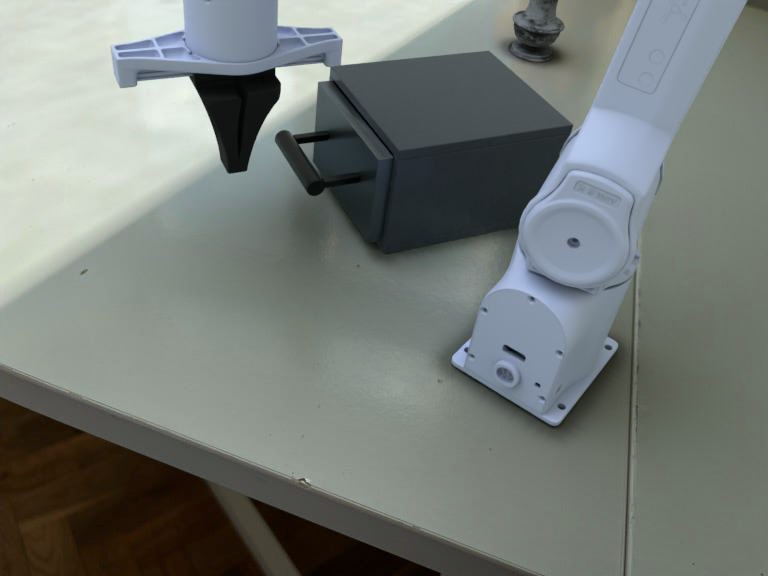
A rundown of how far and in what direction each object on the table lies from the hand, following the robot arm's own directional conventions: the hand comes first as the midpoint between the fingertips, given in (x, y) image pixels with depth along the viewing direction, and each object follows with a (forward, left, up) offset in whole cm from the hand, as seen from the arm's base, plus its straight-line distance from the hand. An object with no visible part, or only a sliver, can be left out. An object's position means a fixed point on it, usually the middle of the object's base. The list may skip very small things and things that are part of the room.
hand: (233, 165), depth 56 cm
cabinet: (+15, -8, -6) cm, 18 cm away
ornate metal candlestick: (+47, 0, -6) cm, 47 cm away
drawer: (+12, -6, -5) cm, 14 cm away
